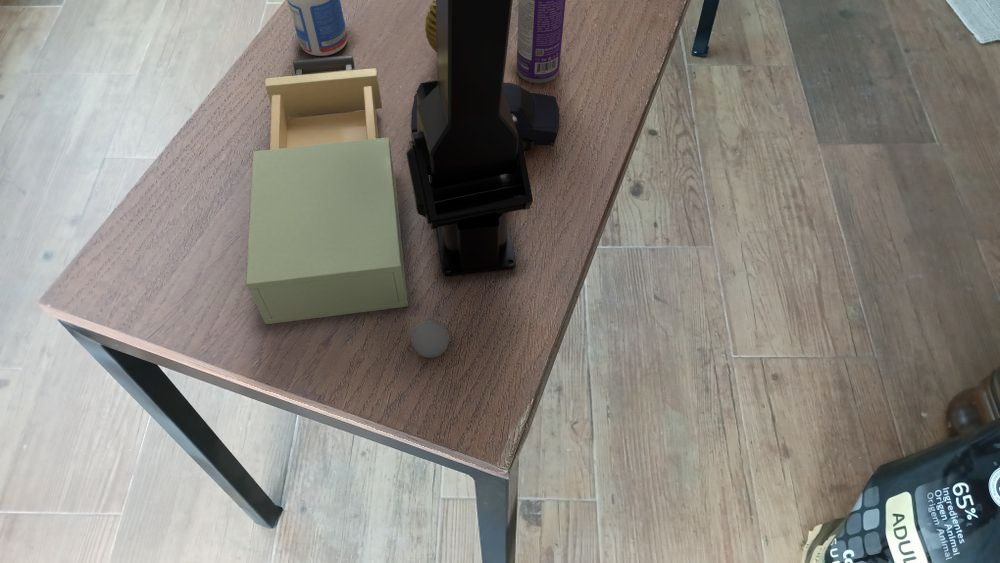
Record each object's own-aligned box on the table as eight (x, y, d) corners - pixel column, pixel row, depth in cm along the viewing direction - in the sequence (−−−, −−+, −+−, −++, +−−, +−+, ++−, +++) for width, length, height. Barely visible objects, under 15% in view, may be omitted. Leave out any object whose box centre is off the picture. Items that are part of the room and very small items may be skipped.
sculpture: (478, 29, 83) (476, -35, 76) (499, 47, 81) (500, -18, 75) (420, 57, 80) (414, -8, 73) (442, 76, 78) (437, 11, 72)
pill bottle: (352, 28, 83) (337, -52, 75) (342, 59, 80) (325, -22, 72) (305, 25, 83) (285, -56, 75) (293, 55, 80) (271, -26, 72)
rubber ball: (451, 361, 59) (449, 343, 56) (414, 366, 58) (411, 348, 56) (447, 330, 60) (445, 310, 58) (411, 334, 60) (408, 315, 57)
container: (562, 59, 80) (575, -73, 68) (554, 86, 78) (565, -45, 65) (521, 52, 81) (526, -80, 68) (511, 79, 78) (515, -53, 66)
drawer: (276, 83, 76) (266, 50, 73) (379, 74, 77) (373, 40, 74) (273, 210, 66) (261, 179, 63) (390, 197, 67) (384, 166, 64)
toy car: (416, 112, 75) (412, 73, 71) (557, 114, 75) (560, 75, 71) (411, 152, 72) (407, 114, 68) (558, 155, 72) (562, 117, 68)
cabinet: (269, 195, 68) (252, 150, 64) (395, 181, 70) (388, 136, 65) (265, 324, 60) (245, 284, 56) (408, 306, 62) (400, 266, 57)
